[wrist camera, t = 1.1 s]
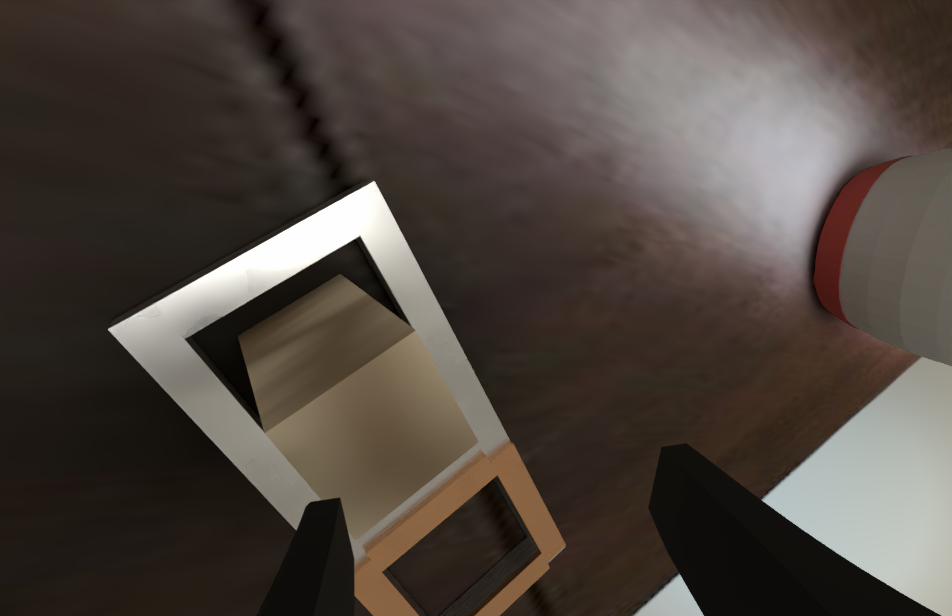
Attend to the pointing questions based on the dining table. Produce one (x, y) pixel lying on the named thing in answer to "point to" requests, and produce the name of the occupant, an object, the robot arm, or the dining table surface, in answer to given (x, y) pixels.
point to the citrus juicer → (893, 254)
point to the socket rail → (244, 442)
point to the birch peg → (353, 401)
